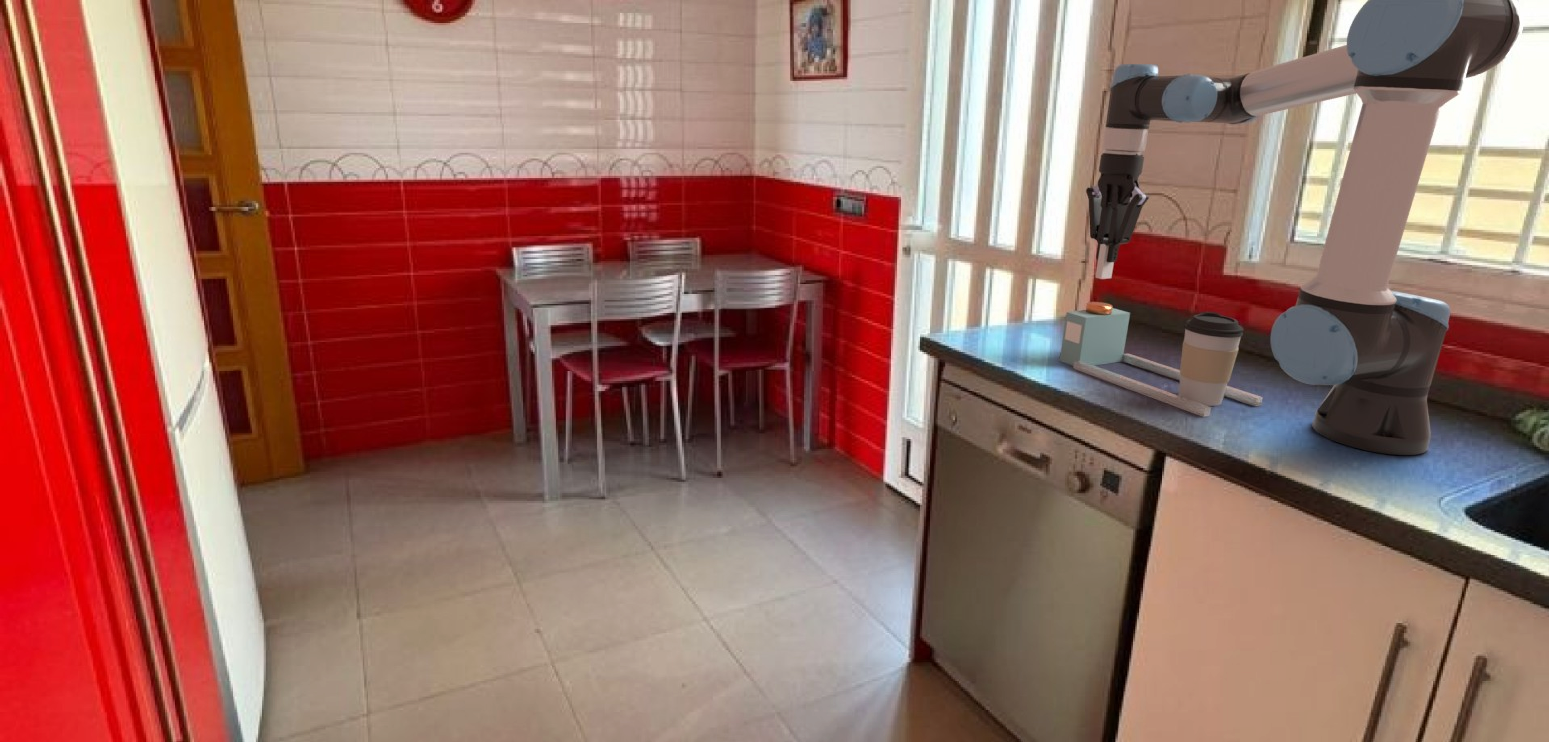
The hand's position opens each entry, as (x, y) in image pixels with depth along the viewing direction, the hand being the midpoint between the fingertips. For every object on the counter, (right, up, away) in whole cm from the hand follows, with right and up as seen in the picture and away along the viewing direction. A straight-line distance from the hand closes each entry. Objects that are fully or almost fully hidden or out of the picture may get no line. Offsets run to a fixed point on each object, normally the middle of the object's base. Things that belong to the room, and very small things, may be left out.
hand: (1103, 277), depth 163 cm
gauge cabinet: (-1, -16, +5) cm, 17 cm away
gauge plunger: (0, -11, +3) cm, 12 cm away
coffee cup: (+11, -23, -16) cm, 30 cm away
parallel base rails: (+7, -21, -9) cm, 24 cm away
